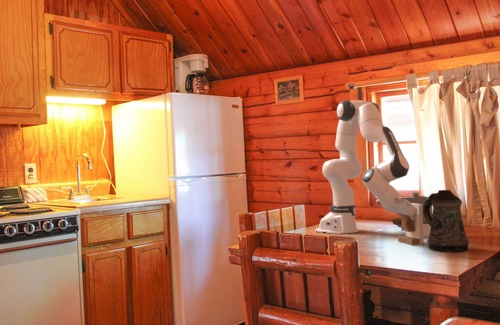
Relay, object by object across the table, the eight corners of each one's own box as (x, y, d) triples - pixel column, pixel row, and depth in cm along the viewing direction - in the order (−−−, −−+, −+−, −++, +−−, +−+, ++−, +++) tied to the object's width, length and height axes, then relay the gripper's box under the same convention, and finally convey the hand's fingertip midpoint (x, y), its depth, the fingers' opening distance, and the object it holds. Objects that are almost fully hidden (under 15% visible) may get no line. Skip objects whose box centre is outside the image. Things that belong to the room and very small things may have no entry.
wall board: (398, 241, 233) (397, 203, 233) (409, 240, 235) (408, 202, 235) (412, 245, 223) (411, 205, 223) (423, 244, 225) (422, 204, 225)
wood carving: (468, 237, 239) (467, 213, 239) (392, 236, 248) (391, 214, 247) (465, 234, 248) (464, 211, 247) (392, 233, 256) (391, 211, 256)
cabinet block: (407, 232, 226) (406, 207, 226) (401, 230, 230) (400, 206, 230) (415, 231, 227) (414, 207, 227) (409, 229, 231) (408, 206, 231)
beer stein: (465, 254, 202) (464, 192, 202) (416, 250, 212) (415, 191, 212) (471, 246, 216) (470, 189, 216) (425, 243, 226) (424, 188, 226)
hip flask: (401, 231, 263) (400, 193, 262) (400, 229, 267) (399, 192, 266) (433, 230, 261) (432, 192, 260) (431, 229, 265) (430, 191, 264)
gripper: (408, 194, 216) (427, 215, 219) (381, 191, 236) (400, 210, 239) (399, 205, 215) (419, 226, 218) (373, 201, 234) (392, 220, 238)
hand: (409, 218), depth 229 cm, fingers closed on cabinet block, 4 cm apart
